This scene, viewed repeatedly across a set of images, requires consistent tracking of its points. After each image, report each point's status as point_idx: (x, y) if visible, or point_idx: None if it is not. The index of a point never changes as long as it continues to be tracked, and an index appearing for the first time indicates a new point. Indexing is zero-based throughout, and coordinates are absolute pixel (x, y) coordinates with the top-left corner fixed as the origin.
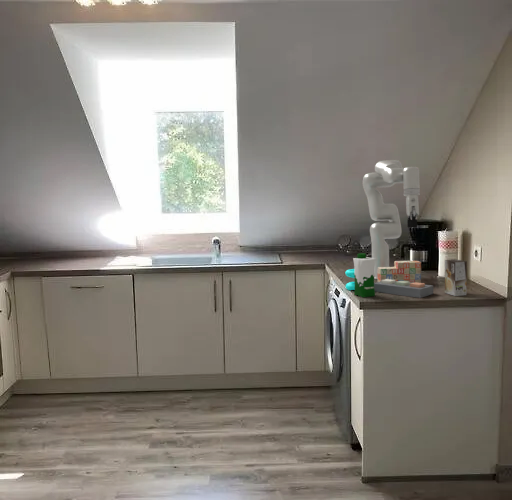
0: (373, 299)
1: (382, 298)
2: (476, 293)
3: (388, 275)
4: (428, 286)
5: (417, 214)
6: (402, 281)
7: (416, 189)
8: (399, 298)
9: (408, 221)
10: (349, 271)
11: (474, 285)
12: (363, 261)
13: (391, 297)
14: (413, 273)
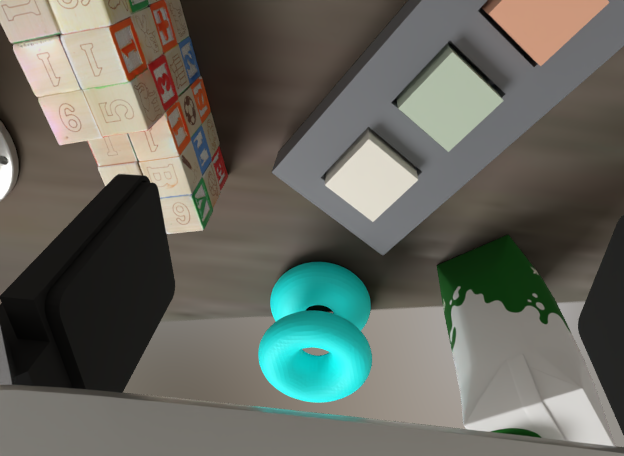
0: (594, 250)
1: (582, 209)
2: None
3: (199, 159)
4: None
5: (373, 451)
6: (435, 102)
7: None
8: (611, 125)
9: (122, 377)
10: (348, 394)
11: None
12: (614, 443)
13: (569, 162)
14: None
